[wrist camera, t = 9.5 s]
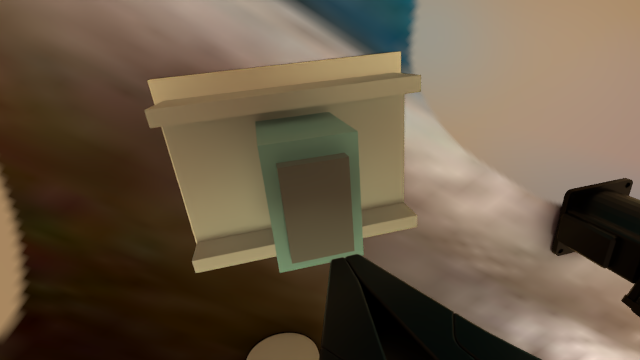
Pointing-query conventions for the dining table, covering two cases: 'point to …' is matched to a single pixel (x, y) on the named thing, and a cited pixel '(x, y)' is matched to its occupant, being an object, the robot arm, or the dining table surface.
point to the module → (311, 188)
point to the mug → (285, 348)
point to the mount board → (242, 153)
